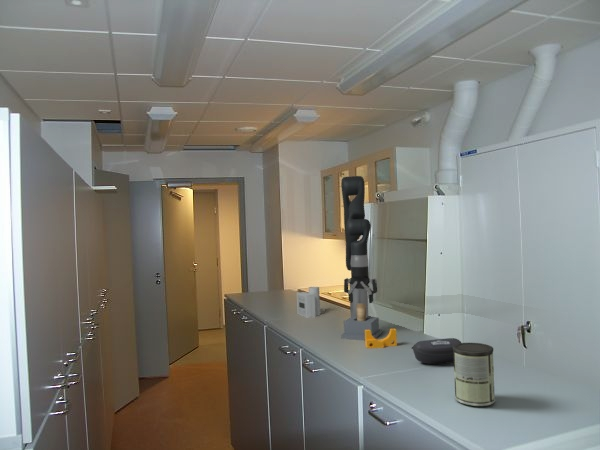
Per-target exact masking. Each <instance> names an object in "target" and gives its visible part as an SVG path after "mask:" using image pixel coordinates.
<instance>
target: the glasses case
mask: <svg viewBox="0 0 600 450" xmlns="http://www.w3.org/2000/svg"><path fill="white" fill-rule="evenodd" d="M459 343H462V341H460V339H459V338H456V337H455V338H454V337H449V338H436V339H427V340H426V339H425V340H420V341H417V342H416V343H415V344H414V345H413V346H412V347H411V349H412V350H413V354H414V357H415V359H416V360H417V361H418V362H419V363H423V364H426V365H427V364H428V365H429V364H430V365H444V364H449V363H454V352H453V346H454V345H456V344H459Z"/></svg>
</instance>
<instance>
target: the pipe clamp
mask: <svg viewBox="0 0 600 450" xmlns="http://www.w3.org/2000/svg"><path fill="white" fill-rule="evenodd" d="M397 340H398V339H397V329H396V328H390V329H389V333H388V334H387V335H386V336H385V337H384V338H381V339H380V338H379V339H378V338H374V337H373V336H372V334H371V331H370V330H365V340H364V341H365V342H364V346H365V347H366V349H384V348H385V347H398V341H397Z"/></svg>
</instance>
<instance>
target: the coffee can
mask: <svg viewBox="0 0 600 450" xmlns="http://www.w3.org/2000/svg"><path fill="white" fill-rule="evenodd" d="M453 352H454V362H453V370H454V371H453V372H454V373H453V375H454V392H455V393H454V399H455V400H456V401H457V402H458V403H461V404H463V405H466V406H474V407H486V406H491V405H493V404H494V403H495V402H496V398H495V397H496V396H495V376H494V375H495V374H494V373H495V372H494V371H495V369H494V347H493V346H491V345H489V344H486V343H479V342H461V343H459V344H456V345H454V346H453Z"/></svg>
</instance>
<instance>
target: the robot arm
mask: <svg viewBox="0 0 600 450" xmlns="http://www.w3.org/2000/svg"><path fill="white" fill-rule="evenodd" d="M340 183H341V186H340V187H341V196H342V202H343V224H344V225H343V226H344V238H345V267H346V270H348V271H350V275H351V276H350V278H348V277H347V278H344V279H343V292H344V293H346V294H347V295H348V302H349V307H350V308H349V309H350V313H349V314H350V315H349V316H350V317H352V316H357V308H356V304H360V303H364V304H366V317H369V304H372V303H374V294H377V293H378V284H377V283H378V282H377V279H376V278H373V279H371V278H370V277H369V276H370V274H369V273H370V272H369V271H370V270H369V268H370V267H369V256H368V255H369V254H368V241H369V235H370V233H371V227H372V225H371V224H372V223H371V221H370V220H369V219H366V212H365V210H366V209H365V197H366V195H365V193H366V190H365V189H366V184H365V179H364V177H363V176H361V175H356V176H355V175H353V176H344V177H342V178H341V182H340ZM350 196H355V197H353V199H352V201H351V199H350ZM360 237H362V238H360ZM369 284H371V285H372V288H371V286H370V285H369Z"/></svg>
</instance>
